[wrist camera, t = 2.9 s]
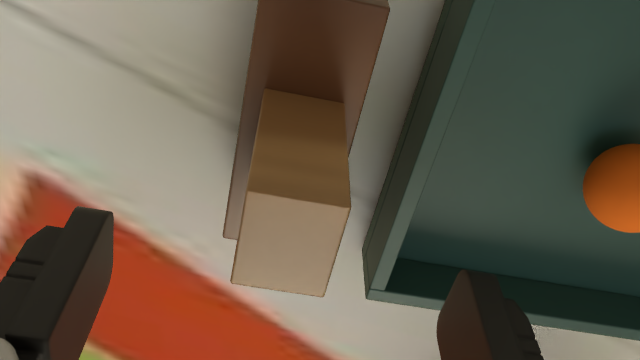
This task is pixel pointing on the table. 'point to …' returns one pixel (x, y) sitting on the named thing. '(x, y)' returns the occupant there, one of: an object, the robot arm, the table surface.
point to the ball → (615, 188)
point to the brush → (299, 139)
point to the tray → (515, 164)
